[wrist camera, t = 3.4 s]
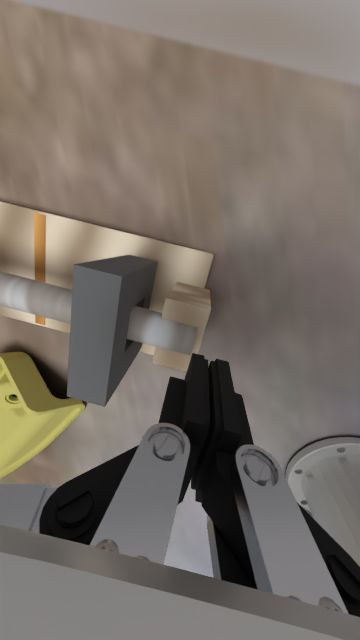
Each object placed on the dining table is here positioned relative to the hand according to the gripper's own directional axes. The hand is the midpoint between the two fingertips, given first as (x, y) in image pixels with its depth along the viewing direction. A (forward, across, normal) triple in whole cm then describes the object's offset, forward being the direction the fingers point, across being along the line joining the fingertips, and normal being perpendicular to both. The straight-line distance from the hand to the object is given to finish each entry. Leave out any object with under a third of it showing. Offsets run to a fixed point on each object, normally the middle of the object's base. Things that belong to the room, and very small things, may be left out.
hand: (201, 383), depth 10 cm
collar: (+9, +6, 0) cm, 11 cm away
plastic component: (+13, +20, +20) cm, 32 cm away
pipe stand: (+13, +12, 0) cm, 17 cm away
